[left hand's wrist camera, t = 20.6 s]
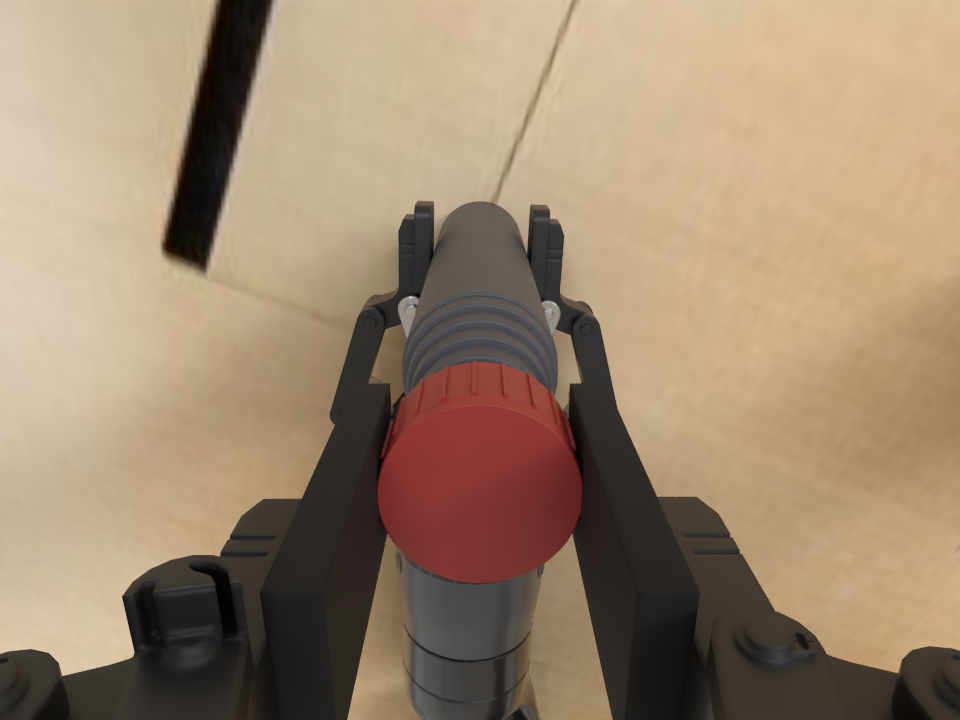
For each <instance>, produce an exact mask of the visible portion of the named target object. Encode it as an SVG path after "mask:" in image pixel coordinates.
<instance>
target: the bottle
mask: <svg viewBox="0 0 960 720" xmlns="http://www.w3.org/2000/svg"><path fill="white" fill-rule="evenodd" d="M473 361H477V362H486V363H496V364H501V363H505V365H506V366H509V367H512V368H515V369H517V370H520V371H522V372H524V373H526V374H528V373H530V374H532V377H533V378H534V379H536V380H537V381H538V382H540V383H541V384H542V385H543V386H544V387H546V389H547V390H548V391H549V390H550V389H551V390H552V392H553V395H555V392H556V387H557V376H558V372H557V366H558V361H557V352H556V348H555V344H554V341H553V338H552V334H551V331H550V328H549V325H548V322H547V318H546V315H545V312H544V309H543V305H542V302H541V299H540V296H539V293H538V289H537V286H536V283H535V280H534V277H533V273H532V270H531V267H530V264H529V261H528V257H527V254H526V251H525V248H524V245H523V241H522V238H521V235H520V232H519V229H518V226H517V224H516V222H515V220H514V219H513V218H512V216H511V215H510V214H509V213H508V212H507V211H505V210H504V209H503V208H501V207H499V206H497V205H495V204H492V203H489V202H471V203H468V204H465V205H463V206H461V207H459V208H457V209H456V210H455V211H453V212H452V213H451V214H450V215H449V217H448V218H447V219H446V221H445V222H444V224H443V227H442V229H441V232H440V235H439V238H438V242H437V245H436V248H435V251H434V254H433V258H432V261H431V264H430V267H429V270H428V274H427V277H426V280H425V283H424V286H423V290H422V293H421V296H420V299H419V302H418V306H417V309H416V312H415V315H414V318H413V322H412V325H411V328H410V331H409V334H408V338H407V341H406V344H405V348H404V352H403V361H402V364H403V372H402V375H403V387H404V392H405V395H406V396H407V395H408V394H409V393H410V392H411V391H412V390H413V388H414V387H416V386H417V385H418V384H419V382H420V380H421V379H422V378H423V379H426V378H427V377H429V376H431V375H432V374H434V373H436V372H438V371H440V370H443V369H444V367H445V366H449V367H451V366H454V365H459V364H464V363H473Z"/></svg>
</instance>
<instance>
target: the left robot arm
mask: <svg viewBox="0 0 960 720" xmlns="http://www.w3.org/2000/svg"><path fill="white" fill-rule="evenodd" d="M391 420H392V418H391V398H390V384H353V387H352V389H351V391H350V393H349V396H348V398H347V400H346V402H345V404H344V407H343V409H342V411H341V413H340V415H339V418H338V420H337V422H336V424H335V427H334V429H333V431H332V433H331V435H330V438H329V440H328V442H327V444H326V446H325V449H324V451H323V453H322V455H321V458H320V460H319V462H318V464H317V466H316V469H315V471H314V473H313V475H312V477H311V480H310V482H309V484H308V486H307V489H306V491H305V493H304V495H303V497H302V499H263V500H262V501H260V502H259V503H258V504H256V505H255V506H254V507H253V508H251V509H250V510H249V511H247V512H246V513H245V514H244V515H242V516H241V518H240V520H239V521H238V523H237V525H236V527H235V528H234V530H233V532H232V534H231V535H230V540H227V542H226V544H225V546H224V547H223V549H222V551H221V555H220V557H218V556H214V555H192V556H187V557H183V558H178V559H174V560H170V561H168V562H166V563H163V564H161V565H159V566H157V567H154V568H152V569H150V570H148V571H147V572H146V573H144V574H143V575H142V576H140V577H139V578H138V579H136V580H135V581H133V582H132V584H131V585H130V586H129V588H128V589H127V591H126V592H125V593H124V595H123V596H122V598H123V603H124V607H125V612H126V616H127V620H128V625H129V629H130V634H131V638H132V642H133V647H134V651H135V653H134V656H133V657H132V658H130V659H128V660H124V661H121V662H118V663H115V664H112V665H108V666H104V667H99V668H95V669H91V670H87V671H82V672H78V673H74V674H70V675H66V676H62V674H61V670H60V666H59V663H58V662H57V661H56V660H55V659H54V658H53V657H52V656H51V655H50V654H49V653H46V652H41V651H37V650H32V649H28V650H19V651H9V652H5V653H2V654H0V720H347V718H348V713H349V708H350V704H351V699H352V694H353V690H354V685H355V680H356V676H357V671H358V667H359V662H360V657H361V653H362V648H363V643H364V639H365V634H366V630H367V625H368V620H369V616H370V611H371V606H372V602H373V597H374V593H375V588H376V583H377V579H378V574H379V569H380V565H381V560H382V555H383V551H384V546H385V542H386V537H387V531H386V529H385V527H384V525H383V522H382V520H381V517H380V513H379V507H378V491H377V482H378V476H379V471H380V468H381V464H382V461H383V460H381V459H380V456H381V452H382V449H383V445H384V442H385V438H386V435H387V431H388V428H389V424H390V421H391ZM568 420H569V423H570V427H571V430H572V434H573V437H574V441H575V444H576V448H577V450H575V454H576V457H577V461H578V464H579V468H580V472H581V476H582V482H583V487H582V504H581V513H580V517H579V520H578V522H577V525H576V527H575V529H574V531H573V538H574V542H575V547H576V552H577V556H578V561H579V566H580V570H581V575H582V579H583V584H584V589H585V593H586V598H587V603H588V607H589V612H590V617H591V621H592V626H593V630H594V635H595V640H596V644H597V649H598V654H599V658H600V663H601V667H602V672H603V677H604V681H605V686H606V691H607V695H608V700H609V705H610V709H611V714H612V718H613V720H960V651H958V650H955V649H951V648H941V647H931V646H929V647H924V648H920V649H915V650H912V651H911V652H910V653H909V654H908V655H907V656H906V657H905V658H903V659H902V662H901V666H900V669H899V673H894V672H890V671H885V670H881V669H877V668H873V667H868V666H864V665H860V664H856V663H851V662H848V661H845V660H841V659H838V658H835V657H832V656H830V655H827V654H826V652H825V650H824V649H823V647H822V646H821V644H820V642H819V641H818V639H817V638H816V636H815V635H814V634H812V633H811V632H810V631H809V630H808V629H806V628H805V627H804V626H803V625H802V624H800V623H799V622H797V621H795V620H793V619H791V618H789V617H787V616H785V615H783V614H781V613H779V612H775V610H774V608H773V607H772V605H771V603H770V601H769V600H768V598H767V596H766V595H765V593H764V591H763V589H762V588H761V586H760V584H759V583H758V581H757V579H756V577H755V576H754V574H753V572H752V571H751V569H750V567H749V565H748V564H747V562H746V560H745V559H744V557H743V555H742V554H740V550H739V548H738V547H737V545H736V543H735V541H734V540H733V538H730V533H729V531H728V529H727V528H726V526H725V524H724V523H723V521H722V519H721V517H720V516H719V514H718V513H717V512H715V511H714V510H713V509H712V508H710V507H709V506H708V505H706V504H705V503H704V502H702V501H701V500H700V499H699V498H697V497H657V496H656V493H655V491H654V489H653V487H652V485H651V482H650V480H649V478H648V476H647V473H646V471H645V469H644V467H643V465H642V462H641V460H640V458H639V456H638V454H637V451H636V449H635V447H634V445H633V442H632V440H631V438H630V436H629V434H628V431H627V429H626V427H625V425H624V423H623V420H622V418H621V416H620V414H619V411H618V409H617V407H616V405H615V403H614V400H613V398H612V396H611V394H610V392H609V389H608V387H607V385H606V384H570V394H569V414H568Z"/></svg>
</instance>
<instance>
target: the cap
mask: <svg viewBox="0 0 960 720" xmlns="http://www.w3.org/2000/svg"><path fill="white" fill-rule="evenodd" d="M575 450H577V448H576V444H575V441H574V437H573V434H572V430H571V427H570V423H569V420H568V416H567V413H566V411H562V409H561V407H560V405H559V404H558V402H557V401H556V399H555V398H554V395H553V392H552V390H551V389H550V390H549V391H548V390H547V389H546V387H544V386H543V385H542V384H541V383H540V382H538V381H537V380H536V379H534V378H533V377H532V374H530V373H528V374H526V373H524V372H522V371H520V370H517V369H515V368H512V367H509V366H506V365H505V363H501V364H496V363H486V362H477V361H473V363H464V364H459V365H454V366H451V367H449V366H445V367H444V369H443V370H440V371H438V372H436V373H434V374H432V375H431V376H429V377H427V378H426V379H423V378H422V379H421V380H420V382H419V384H418V385H417V386H416V387H414V388H413V390H412V391H411V392H410V393H409V394H408V395H407V396H406V398H404V397H403V398H402V399H401V402H400V406H399V409H398V411H397V413H396V415H395V418H394V420H391V421H390V424H389V428H388V431H387V435H386V438H385V442H384V445H383V449H382V452H381V456H380V459H381V460H383V461H382V464H381V468H380V471H379V476H378V482H377V491H378V507H379V513H380V517H381V520H382V522H383V525H384V527H385V529H386V531H387V533H388V534H389V536H390V538H391V539H392V541H393V542H394V543H395V544H396V546H397V547H398V548H399V549H400V550H401V551H402V552H403V553H404V554H405V555H406V556H407V557H408V558H409V559H410V560H412V561H413V562H415V563H416V564H418V565H419V566H421V567H422V568H424V569H426V570H428V571H430V572H432V573H434V574H437V575H439V576H442V577H445V578H449V579H452V580H457V581H463V582H472V583H487V582H497V581H503V580H508V579H511V578H515V577H518V576H521V575H523V574H526V573H528V572H530V571H532V570H534V569H536V568H538V567H539V566H541V565H542V564H544V563H545V562H547V561H548V560H549V559H551V558H552V557H553V556H554V555H555V554H556V553H557V552H558V551H559V550H560V549H561V548H562V547H563V546H564V544H565V543H566V542H567V541H568V539H569V537H570V536H571V534H572V533H573V531H574V529H575V527H576V525H577V522H578V520H579V517H580V513H581V504H582V487H583V482H582V476H581V472H580V468H579V464H578V461H577V457H576V454H575Z"/></svg>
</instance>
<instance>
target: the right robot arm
mask: <svg viewBox="0 0 960 720" xmlns="http://www.w3.org/2000/svg"><path fill="white" fill-rule="evenodd" d="M563 244H564V235H563V231H562V228H561V225H560V223H559V222H558V220H557V219H550V210H549V208H548V207H547V205H531V206H530V217H529V234H528V250H527V257H528V261H529V264H530V267H531V270H532V273H533V277H534V280H535V283H536V286H537V289H538V293H539V296H540V299H541V302H542V305H543V309H544V312H545V315H546V318H547V322H548V325H549V328H550V331H551V334H552V337H553V334H554V332H555V329H557V330H559V331H562V332H564V333H567V334H569V335H571V339H572V343H573V348H574V352H575V356H576V361H577V365H578V370H579V374H580V378H581V383H580V384H606V385H607V387H608V389H609V392H610V394H611V396H612V398H613V400H614V403H615V405H616V400H615V396H614V391H613V386H612V381H611V377H610V372H609V367H608V363H607V358H606V353H605V348H604V344H603V339H602V334H601V329H600V325H599V323H598V321H597V319H596V318H595V317H594V316H593V312H592V310H591V308H590V306H589V305H588V304H587V303H585V302H582V301H577V302H575V301H573V300H570V299H568V298H565V297H564V296H562V295H561V294H560V281H561V269H562V256H563ZM433 254H434V202H432V201H418V202H417V203H416V205H415V211H414V214H406V216H405V217H404V219H403V221H402V224H401V226H400V229H399V287H398V289H396V290H395V291H393V292H391V293H388V294H384V295H374V296H372V297H370V298H369V299H368V300H367V302H366V304H365V305H364V307H363V309H362V311H361V312H360V314H359V316H358V318H357V322H356V325H355V329H354V332H353V336H352V339H351V343H350V346H349V349H348V353H347V356H346V360H345V363H344V367H343V370H342V374H341V377H340V380H339V384H338V387H337V391H336V394H335V398H334V401H333V405H332V408H331V411H330V419H331V421H332V422H333V423H334V424H336V422H337V420H338V418H339V415H340V413H341V411H342V409H343V407H344V404H345V402H346V400H347V398H348V396H349V393H350V391H351V389H352V387H353V384H382V382H381V381H380V380H379V379H377V378H375V377H372V376H371V374H372V371H373V367H374V364H375V361H376V358H377V354H378V351H379V348H380V345H381V341H382V338H383V335H384V332H385V329H387V328H390V327H393V326H396V325H399V324H402V326H403V329H404V332H405V335H406V338H408V334H409V331H410V328H411V325H412V322H413V318H414V315H415V312H416V309H417V306H418V302H419V299H420V296H421V293H422V290H423V286H424V283H425V280H426V277H427V274H428V270H429V267H430V264H431V261H432V258H433ZM569 394H570V391H569ZM569 394H568V397H569ZM403 397H404V398H406V395H405V392H403V394H402V395H401V396H400V397H399V399H398V400H397V401H396V402H395V404H394V405H393V406H392V405H391V418H392V420H394V418H395V415H396V413H397V411H398V409H399V406H400V402H401V399H402V398H403ZM616 407H617V405H616ZM562 411H566V413H567V416H568V414H569V400H568V404H567V406H566V407H565V408H564V409H562ZM396 567H397V569H398V585H399V592H400V598H401V603H402V609H403V669H404V681H405V686H406V691H407V695H408V698H409V700H410V702H411V705H412V707H413V709H414V710H415V712H416V713H417V714H418V715H419V717H420V718H421V719H422V720H540V716H539V711H538V707H537V703H536V698H535V693H534V689H533V685H532V682H531V679H530V676H529V672H528V670H529V662H530V650H531V638H532V625H533V615H534V610H535V607H536V603H537V599H538V594H539V590H540V583H541V576H542V573H543V569H544V564H542V565H541V566H539V567H538V568H536V569H534V570H532V571H530V572H528V573H526V574H523V575H521V576H518V577H515V578H511V579H508V580H503V581H497V582H487V583H472V582H463V581H457V580H452V579H449V578H445V577H442V576H439V575H437V574H434V573H432V572H430V571H428V570H426V569H424V568H422V567H421V566H419V565H418V564H416V563H415V562H413V561H412V560H410V559H409V558H408V557H407V556H406V555H405V554H404V553H403V552H402V551H401V550H400V549H399V548H397V551H396Z"/></svg>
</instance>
